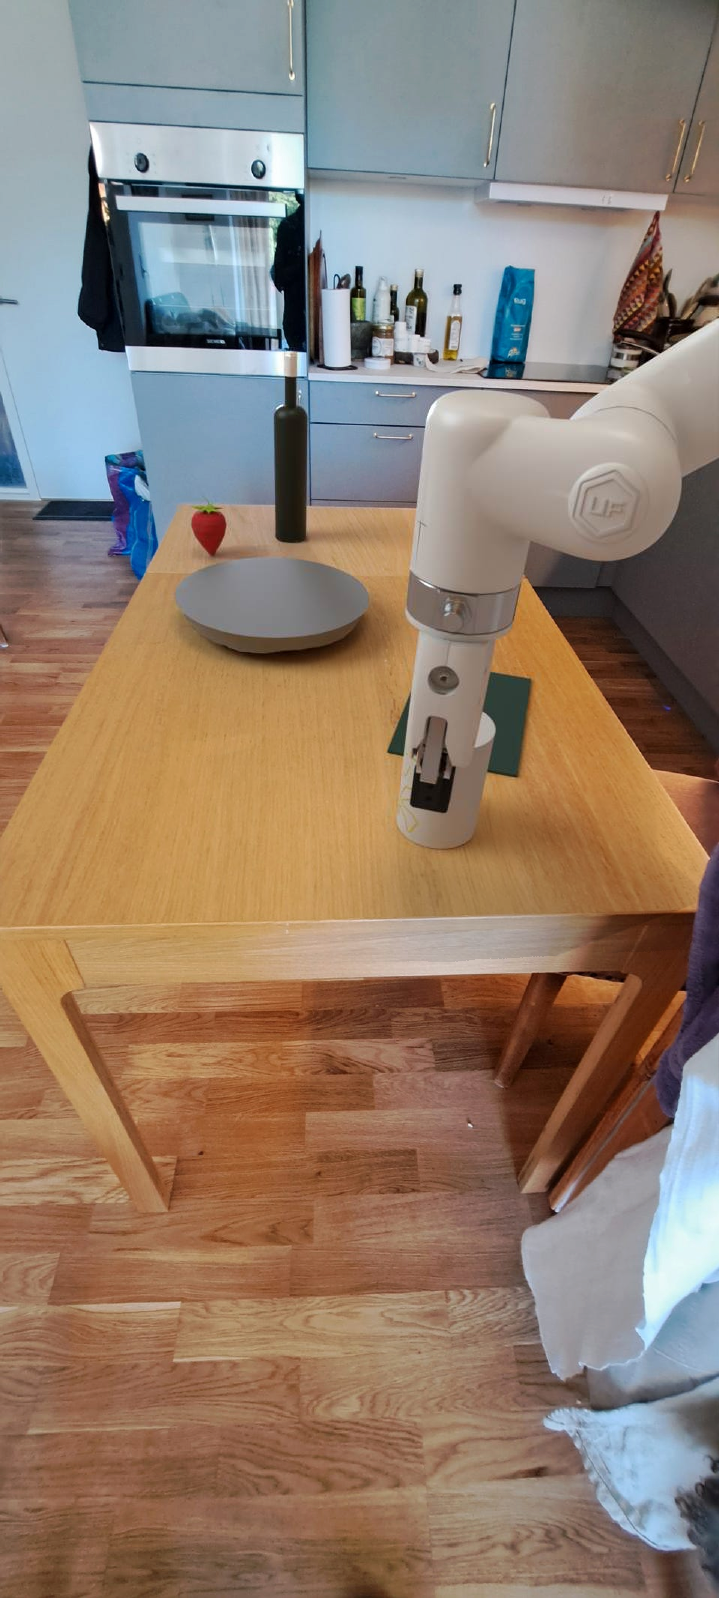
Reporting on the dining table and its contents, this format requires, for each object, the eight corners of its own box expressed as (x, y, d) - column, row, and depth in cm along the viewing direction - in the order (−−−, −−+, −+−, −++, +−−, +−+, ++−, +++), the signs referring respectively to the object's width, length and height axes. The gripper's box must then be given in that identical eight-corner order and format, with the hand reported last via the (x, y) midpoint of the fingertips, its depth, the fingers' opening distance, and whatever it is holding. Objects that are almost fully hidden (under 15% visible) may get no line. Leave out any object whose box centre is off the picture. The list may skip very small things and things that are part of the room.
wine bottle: (275, 531, 140) (273, 347, 121) (306, 532, 140) (308, 349, 121) (275, 542, 135) (272, 353, 116) (306, 543, 136) (308, 355, 117)
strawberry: (191, 562, 125) (185, 502, 119) (196, 546, 131) (191, 488, 125) (226, 563, 126) (222, 503, 120) (230, 547, 132) (226, 489, 125)
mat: (530, 680, 100) (531, 678, 100) (517, 777, 82) (517, 775, 82) (422, 662, 102) (423, 660, 102) (387, 752, 85) (387, 750, 85)
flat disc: (172, 588, 117) (169, 560, 114) (343, 580, 123) (344, 554, 120) (184, 675, 96) (181, 644, 93) (389, 660, 102) (392, 630, 99)
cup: (383, 807, 77) (392, 710, 69) (449, 790, 80) (466, 695, 72) (420, 857, 71) (435, 757, 64) (490, 837, 74) (512, 738, 67)
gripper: (506, 656, 44) (461, 874, 55) (524, 567, 55) (483, 763, 67) (384, 635, 45) (365, 853, 57) (426, 552, 57) (403, 747, 68)
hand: (429, 804), depth 62 cm, fingers closed
